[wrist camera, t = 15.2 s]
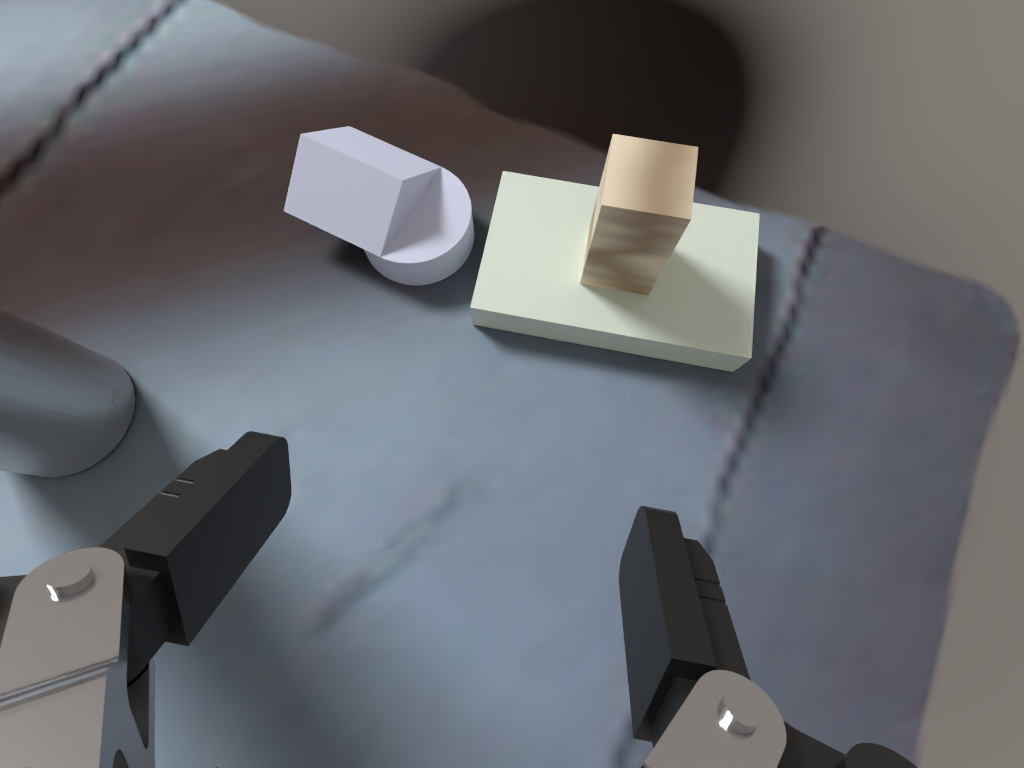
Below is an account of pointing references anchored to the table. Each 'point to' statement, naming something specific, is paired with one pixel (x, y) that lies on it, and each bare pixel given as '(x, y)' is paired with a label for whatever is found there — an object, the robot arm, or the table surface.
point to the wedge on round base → (383, 204)
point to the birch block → (639, 213)
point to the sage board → (607, 312)
